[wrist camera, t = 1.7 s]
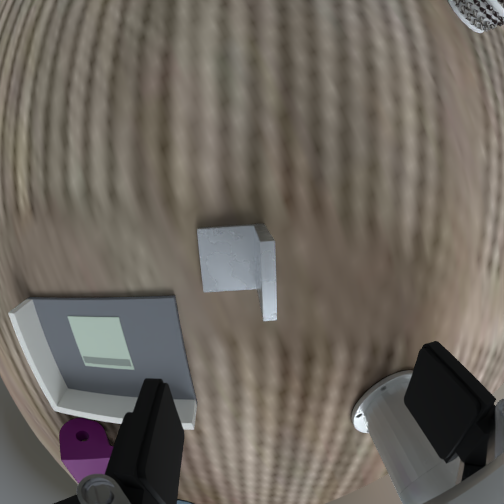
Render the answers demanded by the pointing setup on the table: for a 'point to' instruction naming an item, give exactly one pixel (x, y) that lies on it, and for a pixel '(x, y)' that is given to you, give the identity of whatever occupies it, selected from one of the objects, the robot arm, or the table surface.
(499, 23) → the decorative candle
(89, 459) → the mounting bracket
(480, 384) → the robot arm
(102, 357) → the tray
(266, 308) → the angle bracket
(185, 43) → the table surface
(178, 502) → the cocktail glass
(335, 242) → the table surface
